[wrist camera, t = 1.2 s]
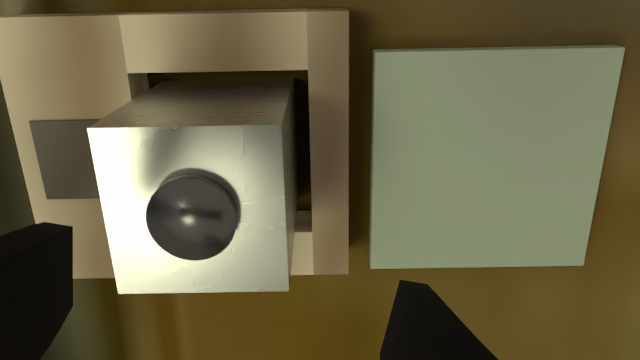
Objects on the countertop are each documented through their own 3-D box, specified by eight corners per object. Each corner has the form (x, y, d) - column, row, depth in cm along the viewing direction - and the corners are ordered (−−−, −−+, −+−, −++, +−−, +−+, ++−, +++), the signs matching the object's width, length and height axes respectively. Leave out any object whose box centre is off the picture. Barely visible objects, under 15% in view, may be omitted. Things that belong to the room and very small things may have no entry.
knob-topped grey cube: (179, 199, 21) (113, 302, 15) (164, 79, 20) (80, 132, 13) (298, 197, 21) (288, 299, 15) (293, 77, 20) (279, 128, 13)
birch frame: (71, 254, 22) (48, 280, 20) (18, 14, 19) (-17, 17, 17) (346, 249, 22) (348, 275, 20) (346, 7, 19) (349, 11, 17)
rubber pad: (368, 259, 22) (370, 268, 22) (372, 49, 19) (375, 52, 18) (574, 256, 22) (583, 265, 22) (613, 44, 19) (625, 47, 18)
